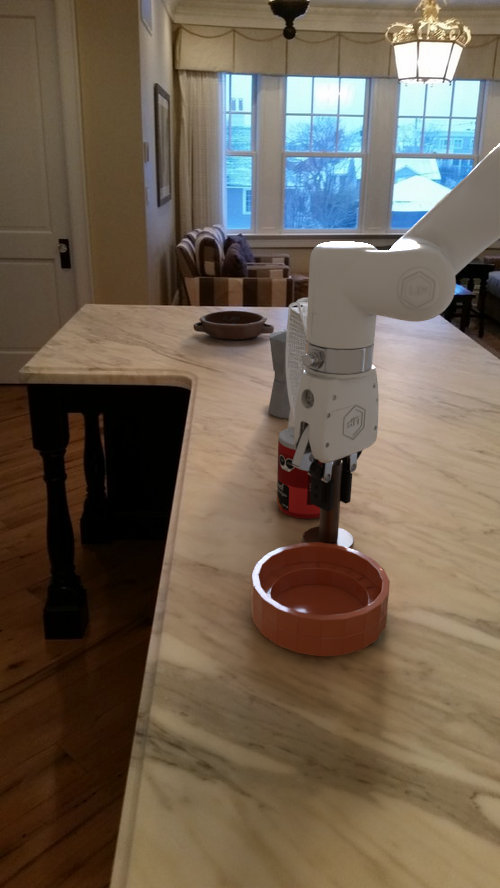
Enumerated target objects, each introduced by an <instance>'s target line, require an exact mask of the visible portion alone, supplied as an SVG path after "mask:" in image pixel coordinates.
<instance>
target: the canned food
mask: <svg viewBox="0 0 500 888" xmlns="http://www.w3.org/2000/svg"><path fill="white" fill-rule="evenodd" d="M287 428H288V427H287ZM287 428H286V429H283V430H281V431H280V432H279V434H278V441H277V475H276V476H277V477H276V479H277V480H276V482H277V483H276V502H277V507H278V509H279V510H280V511H281V512H282V513H283V514H285V515H286V516H289V517H292V518H295V519H302V520H313V519H320V508H319V507H317V506H315V505H313V504H312V503H311V501H310V497H311V477H312V476H310V475H308V472H307V471H304V470H300V469H298V468H296V467H294V466H292V461H293V458H294V455H295V452H296V449H295V444H294V427H292V428H288V429H287ZM318 464H319V465H320V466H321V467H322V462H320V461H319V460H318Z"/></svg>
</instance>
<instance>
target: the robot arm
mask: <svg viewBox="0 0 500 888" xmlns="http://www.w3.org/2000/svg"><path fill="white" fill-rule="evenodd" d="M498 240H500V143H498V145H497V146H496V147H494V148H493V149H492V150H491V151H489V153H487V155H486V156H485V157H483V159H481V161H480V162H479V163H478V164H477V165H476V166H475V167H474V168H473V169H472V170H471V171H470V172H469V173H468V174H467V175H466V176H465V177H464V178H463V179H461V180H460V182H459V183H457V184H456V185H455V186H454V187H453V188H452V189H451V190H450V191H448V192H447V193H446V194H445V195H444V196H443V197H442V198H441V199H440V200H439V201H438V202H436V203H435V205H433V207H432V208H430V209H429V210H428V211H427V212H426V213H424V215H423V216H422V217H421V218H420V219H418V220H417V222H416V223H415V224H413V226H412V227H410V229H409V230H408V231H406V233H404V234H403V235H402V236H401V237H400V238H399V239H398V240H397V241H396V242H395V243H394V244H393V245H392V246H391V248H390V249H389V250H388V249H387V250H378V249H377V247H375V246H374V245H371V244H368V243H364V242H355V241H329V242H323V243H320V244H318V245H316V246H315V247H314V248H313V249H312V250H311V253H310V255H309V264H308V266H309V267H308V286H307V287H308V289H307V290H308V291H307V298H308V301H307V302H308V311H307V335H306V355H304V356H303V364H304V365H305V370H304V371H303V373H302V377H301V382H300V387H299V392H298V398H297V405H296V414H295V427H294V444H295V449H296V452H295V455H294V458H293V461H292V466H294V467H296V468H298V469H300V470H304V471H307V472H308V475H310V476H312V477H311V497H310V501H311V503H312V504H313V505H315V506H317V507H319V508H321V509H323V510H325V511H327V512H329V511H331V510H332V508H333V498H334V481H333V480H331V474H332V463H333V461H335V460H338V459H340V460H342V462H343V467H342V483H341V498H340V503H343V504H348V503H349V504H350V502H351V499H352V485H353V473H354V472H356V470H357V467H358V460H359V458H360V456H361V455H362V452H363V451H364V450H366V449H369V448H371V446H373V445H374V444H375V443H376V441H377V437H378V428H379V427H378V426H379V383H378V374H377V369H376V366H375V365H374V364H373V363H374V349H375V347H374V346H375V337H376V326H377V325H376V324H377V316H378V317H384V318H389V319H394V320H398V321H403V322H404V321H405V322H414V323H415V322H416V323H417V322H418V323H419V322H426V321H429V320H432V319H435V318H436V317H438V316H439V315H441V314H442V313H443V312H445V311H446V309H447V308H448V307H449V306H450V305H451V303H452V301H453V299H454V297H455V294H456V289H457V287H456V286H457V279H456V276H457V275H458V274H459V273H460V272H461V271H462V270H464V268H466V266H467V265H468V264H470V263H471V262H472V261H473V260H474V259H476V258H477V257H478V256H479V255H480V254H481V253H483V252H484V251H485V250H486V249H488V248H489V247H490V246H492V245H494V243H495V242H497V241H498ZM318 460H319V461H320V462H322V467H321V466H320V465H319V464H318Z"/></svg>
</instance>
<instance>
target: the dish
mask: <svg viewBox="0 0 500 888" xmlns="http://www.w3.org/2000/svg"><path fill="white" fill-rule="evenodd" d="M267 320H268V317H267V316H265V315H263V314H260V313H257V312H253V311H246V310H245V311H244V310H222V311H213V312H210V313H206V314H203V315H202V316H201V317H200V318H199V321H198V322H195V323H193V330H194V331H195V332H197V333H205V334H207V335H209V336H211V337H213V338H216V339H221V340H232V341H234V340H248V339H253V338H256V337H258V336H260V335H264V334H270V333H274V332H275V331H274V330H275V327H274V325H272V324H268V323H266V322H267Z"/></svg>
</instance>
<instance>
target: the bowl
mask: <svg viewBox="0 0 500 888" xmlns="http://www.w3.org/2000/svg"><path fill="white" fill-rule="evenodd" d="M250 577H251V578H250V611H251V618H252V622H253V623H254V625H255V626H256V628H257V629H258V631H259V632H260V633H261V635H263V636H264V637H265V638H267V639H268V640H269V641H271V642H273V643H274V644H275V645H277V646H279V647H282V648H285V649H288V650H290V651H292V652H295V653H297V654H302V655H303V654H305V655H309V656H315V657H316V656H317V657H330V656H331V657H333V656H343V655H347V654H351V653H355V652H357V651H362V650H364V649H365V648H366V647H368V646H370V645H372V644H373V643H375V642H376V641H377V640H378V639H379V638H380V636H381V635H382V633H383V632H384V631H385V629H386V626H387V625H386V624H387V616H388V615H387V614H388V606H389V597H390V584H391V581H390V578H389V577H388V574H387V573H386V571H385V569H384V567H382V566H381V565H380V564H379V563H378V562H377V561H376V560H375V559H374V558H373V557H370V556H369V555H366V554H365V553H363V552H361V551H359V550H357V549H354V548H353V549H350V548H347V547H344V546H340V545H336V544H328V543H320V542H314V543H302V542H298V543H294V544H289V545H284V546H281V547H278V548H276V549H274V550H272V551H270V552H268V553H266V554H264V555H263V556H262V557H261V558H260V559H259V560H258V561H257V562H256V563H255V565H254V567H253V570H252V572H251V575H250Z"/></svg>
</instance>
